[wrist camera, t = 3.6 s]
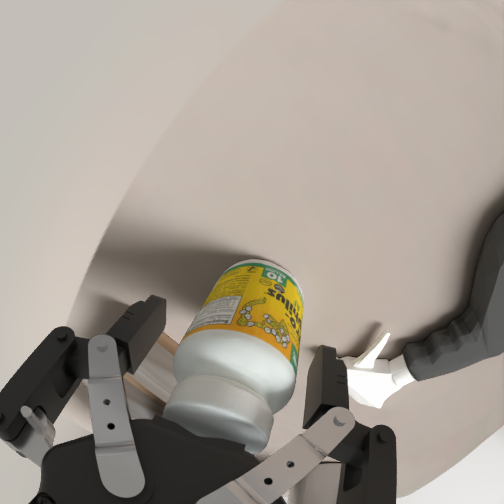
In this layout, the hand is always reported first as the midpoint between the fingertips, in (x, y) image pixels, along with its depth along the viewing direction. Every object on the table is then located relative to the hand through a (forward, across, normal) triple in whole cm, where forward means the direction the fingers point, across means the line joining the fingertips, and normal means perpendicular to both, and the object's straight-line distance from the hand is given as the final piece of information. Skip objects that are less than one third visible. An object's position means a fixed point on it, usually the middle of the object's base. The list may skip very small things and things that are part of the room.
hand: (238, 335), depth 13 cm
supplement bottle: (+4, 0, 0) cm, 4 cm away
